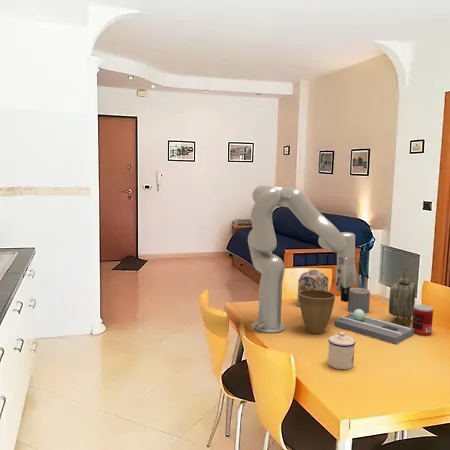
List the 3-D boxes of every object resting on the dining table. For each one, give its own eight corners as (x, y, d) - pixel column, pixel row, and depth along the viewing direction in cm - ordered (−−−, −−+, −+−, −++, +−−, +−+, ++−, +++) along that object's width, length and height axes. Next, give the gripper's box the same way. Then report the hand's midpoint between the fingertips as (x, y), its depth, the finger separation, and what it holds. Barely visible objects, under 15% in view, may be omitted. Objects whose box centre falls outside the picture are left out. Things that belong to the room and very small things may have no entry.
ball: (360, 323, 203) (361, 311, 202) (350, 320, 206) (351, 309, 206) (366, 320, 206) (367, 309, 206) (356, 317, 210) (357, 306, 209)
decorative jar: (318, 310, 228) (320, 273, 226) (296, 306, 234) (297, 270, 232) (328, 304, 238) (329, 269, 236) (306, 300, 244) (307, 266, 242)
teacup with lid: (358, 370, 162) (359, 337, 161) (332, 370, 161) (333, 337, 160) (345, 355, 174) (347, 325, 173) (321, 356, 173) (322, 325, 172)
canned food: (431, 331, 202) (433, 306, 201) (431, 337, 195) (433, 311, 193) (412, 328, 205) (414, 303, 204) (411, 334, 198) (412, 308, 197)
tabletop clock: (409, 328, 204) (413, 271, 201) (387, 325, 208) (390, 269, 205) (413, 319, 217) (417, 265, 214) (392, 316, 221) (396, 263, 218)
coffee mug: (371, 314, 224) (372, 293, 222) (350, 313, 224) (351, 293, 222) (363, 305, 237) (364, 286, 236) (343, 305, 237) (344, 285, 236)
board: (334, 326, 206) (334, 318, 206) (353, 318, 217) (354, 310, 217) (395, 344, 186) (396, 335, 186) (413, 334, 197) (414, 326, 197)
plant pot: (333, 338, 191) (335, 299, 189) (296, 335, 194) (297, 297, 192) (333, 326, 206) (334, 290, 204) (298, 323, 209) (299, 288, 207)
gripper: (343, 264, 201) (342, 306, 204) (362, 259, 211) (361, 299, 214) (328, 262, 206) (328, 303, 209) (347, 257, 217) (346, 296, 219)
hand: (344, 301), depth 211 cm, fingers closed
